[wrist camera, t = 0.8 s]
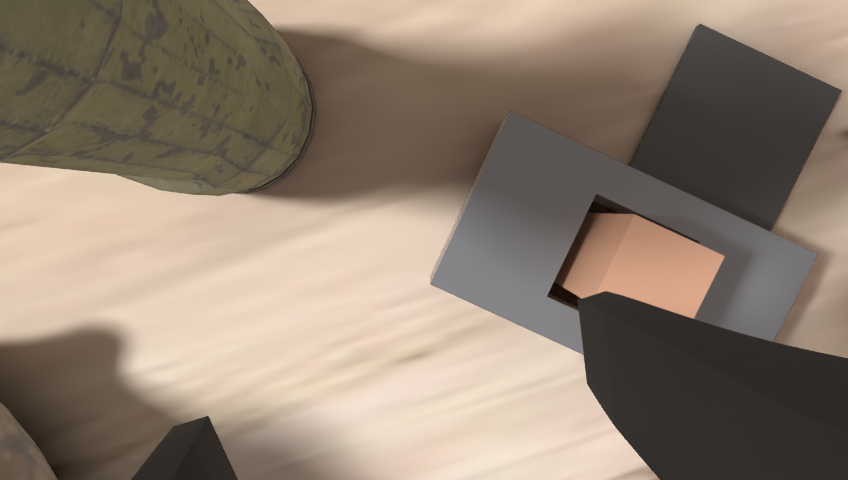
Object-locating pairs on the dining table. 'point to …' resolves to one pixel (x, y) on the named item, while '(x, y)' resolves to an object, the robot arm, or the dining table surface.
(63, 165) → the thermos
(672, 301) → the terracotta block
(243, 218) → the dining table surface
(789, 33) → the dining table surface
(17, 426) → the vessel
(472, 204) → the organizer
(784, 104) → the coaster
